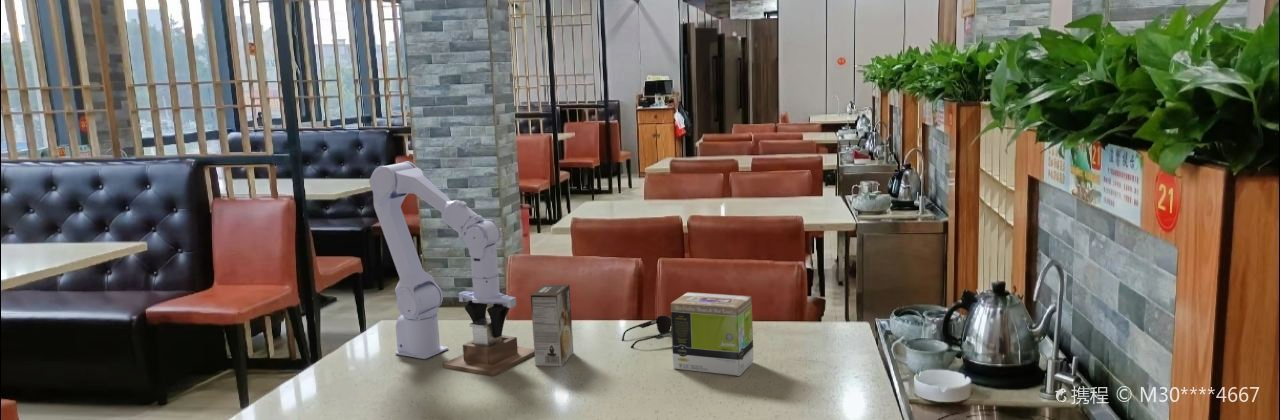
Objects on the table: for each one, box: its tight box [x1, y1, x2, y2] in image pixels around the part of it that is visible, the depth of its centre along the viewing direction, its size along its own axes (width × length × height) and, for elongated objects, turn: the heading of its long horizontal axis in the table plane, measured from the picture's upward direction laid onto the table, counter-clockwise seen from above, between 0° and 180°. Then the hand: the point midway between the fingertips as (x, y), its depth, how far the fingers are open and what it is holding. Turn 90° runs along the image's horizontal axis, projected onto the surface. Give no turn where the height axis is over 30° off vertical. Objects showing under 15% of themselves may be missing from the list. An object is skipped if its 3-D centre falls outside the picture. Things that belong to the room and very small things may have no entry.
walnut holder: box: [442, 334, 535, 377], centre depth 193 cm, size 14×16×4 cm
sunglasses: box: [621, 315, 672, 349], centre depth 203 cm, size 10×12×5 cm
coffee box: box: [530, 284, 574, 367], centre depth 191 cm, size 9×6×16 cm
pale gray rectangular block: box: [469, 315, 502, 347], centre depth 192 cm, size 4×7×7 cm, turn 151°
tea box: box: [670, 291, 754, 377], centre depth 183 cm, size 15×10×15 cm
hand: (489, 335), depth 193 cm, fingers closed on pale gray rectangular block, 4 cm apart
